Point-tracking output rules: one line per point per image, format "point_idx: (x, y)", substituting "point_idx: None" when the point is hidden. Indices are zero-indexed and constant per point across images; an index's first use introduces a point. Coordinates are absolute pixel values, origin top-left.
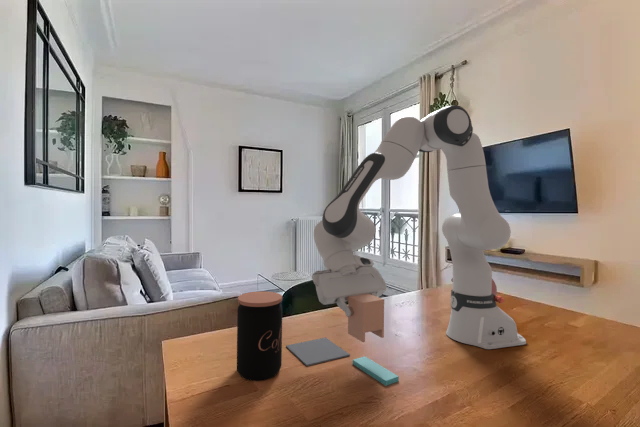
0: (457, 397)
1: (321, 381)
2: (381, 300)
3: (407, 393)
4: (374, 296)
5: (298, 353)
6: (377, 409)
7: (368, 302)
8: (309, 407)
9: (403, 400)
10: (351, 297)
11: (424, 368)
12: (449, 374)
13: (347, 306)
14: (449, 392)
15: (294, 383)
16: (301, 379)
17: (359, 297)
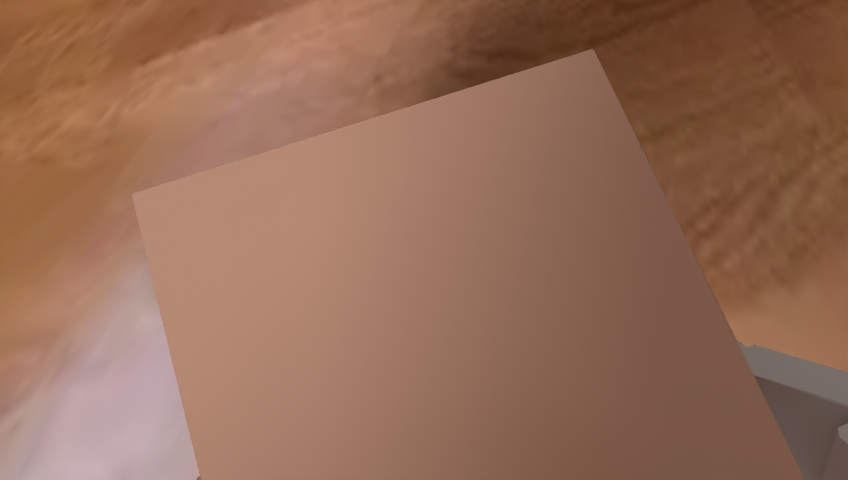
0: (124, 36)
1: (683, 228)
2: (204, 174)
3: (317, 88)
4: (233, 441)
5: None
6: (480, 10)
7: (488, 85)
8: (737, 53)
9: (357, 46)
10: (764, 427)
11: (106, 287)
12: (17, 210)
13: (747, 362)
14: (131, 71)
15: (812, 227)
16: (781, 258)
17: (589, 407)
